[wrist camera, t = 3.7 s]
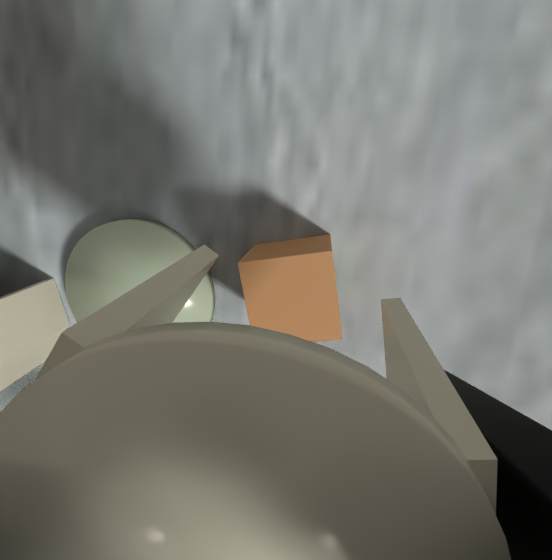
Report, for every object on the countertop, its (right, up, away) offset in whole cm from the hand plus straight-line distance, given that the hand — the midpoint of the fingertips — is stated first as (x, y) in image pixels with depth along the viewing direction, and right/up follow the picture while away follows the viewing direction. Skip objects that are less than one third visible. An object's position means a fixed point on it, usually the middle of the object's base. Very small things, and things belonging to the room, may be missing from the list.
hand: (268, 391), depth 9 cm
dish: (-8, +2, +12) cm, 14 cm away
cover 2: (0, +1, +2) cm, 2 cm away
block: (+1, +3, +10) cm, 11 cm away
